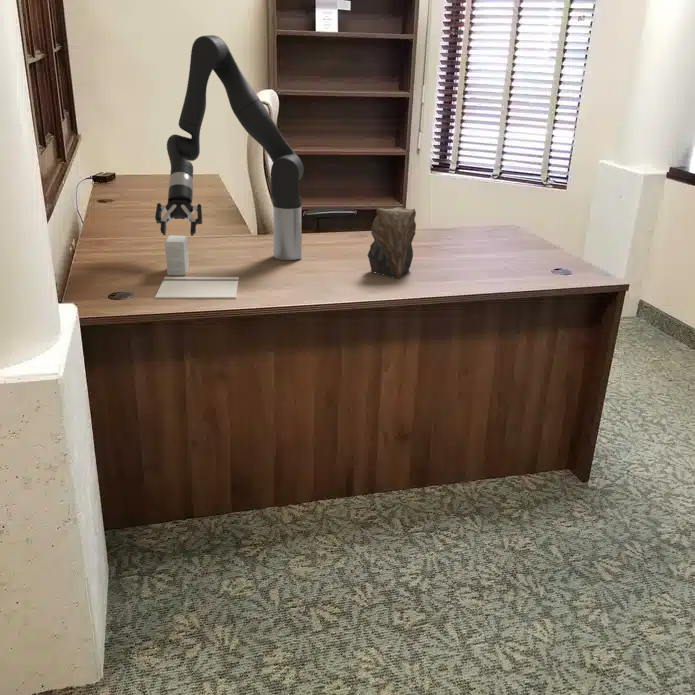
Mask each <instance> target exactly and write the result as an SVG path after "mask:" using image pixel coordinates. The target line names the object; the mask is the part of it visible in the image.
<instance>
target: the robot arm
mask: <svg viewBox="0 0 695 695" xmlns="http://www.w3.org/2000/svg"><path fill="white" fill-rule="evenodd" d="M189 62H190V63H189V72H188V80H187V87H186V91H185V96H184V101H183V105H182V109H181V112H180V116H179V120H178V127H179V128H180V129H181V130H182V131H183V132H186V133H188V134H189V135H190V136H191V137H186V136H183V135H179V134H176V133H175V134H171V135H170V136H169V137H168V139H167V141H166V150H167V151H166V152H167V155H168V158H169V164H170V177H169V182H168V194H167V195H168V196H167V203H166V205H165V204H161V203H160V202H158V203H157V204H156V210H155V216H154V218H155V222H156V224H160V233H161V234H162V235H163V236H166V235H167V234H166V233H167V224H168V223H169V222H171V221H172V220H173V219H174V220H180V219H181V220H185V219H186V220H188V222H189V223H190V237H191V236H192V237H194V235H195V234H196V233H197V225H202V224H203V208H202V205H201V204H200V203H198V204H197V205H193V195H194V194H193V192H194V182H193V180H194V165H193V163H192V162H193V161H196V160H197V159H198V158H199V156H200V153H201V152H200V150H201V149H200V138H201V137H200V135H201V128H202V124H203V121H204V119H205V118H204V117H205V114H206V108H207V87H208V83H209V78H210V77H211V74H212V72H213V73H215V75H216V76H217V78H218V79H219V80H220V82H221V84H222V85H223V87H224V90H225V92H226V95H227V98H228V102H229V105H230V108H231V109H232V112H233V114H234V116H235V117H236V118H237V120H238V122H239V123H240V125H241V127H243V129H244V131H245V132H247V133H248V135H249V136H250V137H252V139H253V140H255V141H256V142H257V143H258V144H259V145H260V146H261V147H262V148H263V149H264V150H265V152H266V153H267V154H268V156H269V158H270V160H271V161H272V165H271V169H270V191H271V193H270V194H271V199H272V203H273V204H272V206H273V207H272V208H273V209H272V210H273V211H272V213H273V215H272V216H273V257H274V259H276V260H281V261H296V260H302V237H303V236H302V197H301V195H300V180H301V179H302V178H303V176H304V171H305V167H304V164H303V162H302V160H301V158H300V156H298V154H296V152H295V150H293V148H292V147H291V146H290V145H289V143H288V142H287V141H286V139H285V138H284V137H283V135H282V133H281V131H280V130H279V128H278V127H277V125H276V123H275V122H274V119H273V118H272V117H271V115H270V114H269V111H268V109H267V108H266V107H265V105H264V104H263V102H262V100H261V99H260V98H259V96H258V95H257V94H256V92H255V90H254V89H253V87H252V85H251V84H250V83H249V81H248V80H247V78H246V77H245V75H244V73H242V71H241V70H240V67H239V66H238V64H237V62H236V60H235V58H234V56H233V54H232V52H231V50H230V48H229V46H228V44H227V43H226V42H225V40H223V39H222V38H221V37H220V36H217V35H211V34H210V35H201V36H199V37H197V38H196V39H195V40H194V41H193V43H192V46H191V51H190V61H189ZM165 210H166V212H165V214H164V215H163V216H162V213H164V211H165ZM193 211H194V212H195V213H197V217H196V218H195V217H194V216H193V214H192V212H193Z"/></svg>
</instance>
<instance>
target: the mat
mask: <svg viewBox="0 0 695 695" xmlns="http://www.w3.org/2000/svg"><path fill="white" fill-rule="evenodd" d="M239 281H240V277H239V276H164V278H163V280H162V282H161V283H160V286H159V287H158V290H157V293H156V294H155V296H154V298H155V299H156V300H157V299H159V300H160V299H162V300H163V299H172V300H173V299H174V300H175V299H176V300H177V299H178V300H179V299H182V300H183V299H190V300H192V299H193V300H194V299H197V300H198V299H208V300H209V299H214V300H215V299H218V300H219V299H225V300H226V299H228V300H229V299H233V300H234V299H237V293H238V286H239Z"/></svg>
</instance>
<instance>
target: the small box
mask: <svg viewBox="0 0 695 695" xmlns="http://www.w3.org/2000/svg"><path fill="white" fill-rule="evenodd" d="M164 243H165V244H164V245H165V256H166V258H165V259H166V270H167V272H166V273H167V276H186V275H187V273H186V272H188V270H189V267H190V266H189V265H190V264H189V251H188V250H189V249H188V248H189V247H188V246H189V245H188V235H173V234H172V235H168V237H167V238H166V239H165V242H164Z"/></svg>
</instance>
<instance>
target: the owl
mask: <svg viewBox="0 0 695 695" xmlns="http://www.w3.org/2000/svg"><path fill="white" fill-rule="evenodd" d="M375 212H376V216H375V218H374V220H373V221H372V226H371V236H372V237H373V242H372V243H371V244H370V245H369V247H370V248H369V250H368V253H367V258H368V262H369V266H370V272H371V271H372V272H371V273H373V272H376V273H375V274H377V273H380V274H384V275H383V276H385V275H387V276H386V277H388V276H390V277H389V278H392V277H394V279H398V280H401V279H402V278H403V277H404V276H405V275H406V274H407V271H408V272H409V271H410V268H411V266H412V262H413V257H414V252H413V251H414V250H413V245H412V243H413V240H414V238H415V236H416V228H417V223H416V221H415V217H416V214H417V212H416V209H415V208H413V209H409V208H405V207H400V206H398V207H394V208H381V207H380V208H376V209H375ZM405 273H406V274H405ZM380 274H379V275H380ZM403 275H404V276H403ZM401 277H402V278H401ZM400 278H401V279H400Z"/></svg>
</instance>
